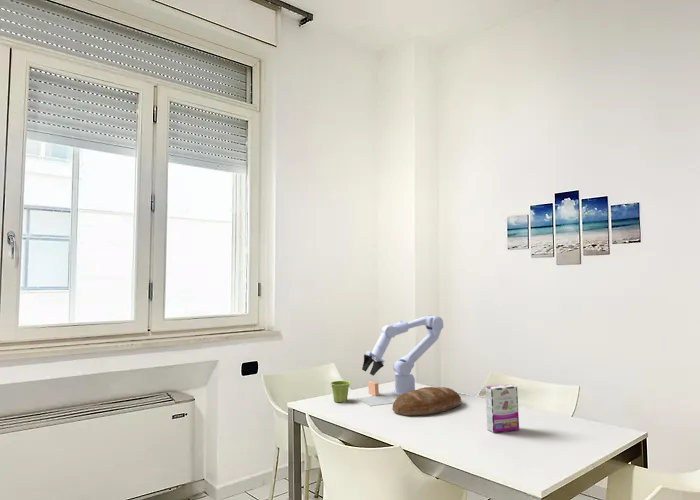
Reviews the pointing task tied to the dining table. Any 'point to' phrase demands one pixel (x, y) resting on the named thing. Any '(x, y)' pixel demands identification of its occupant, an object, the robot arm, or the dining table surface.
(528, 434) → the dining table surface
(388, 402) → the mat
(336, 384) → the plant pot
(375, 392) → the tile
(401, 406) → the bread
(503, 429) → the candy bar box
